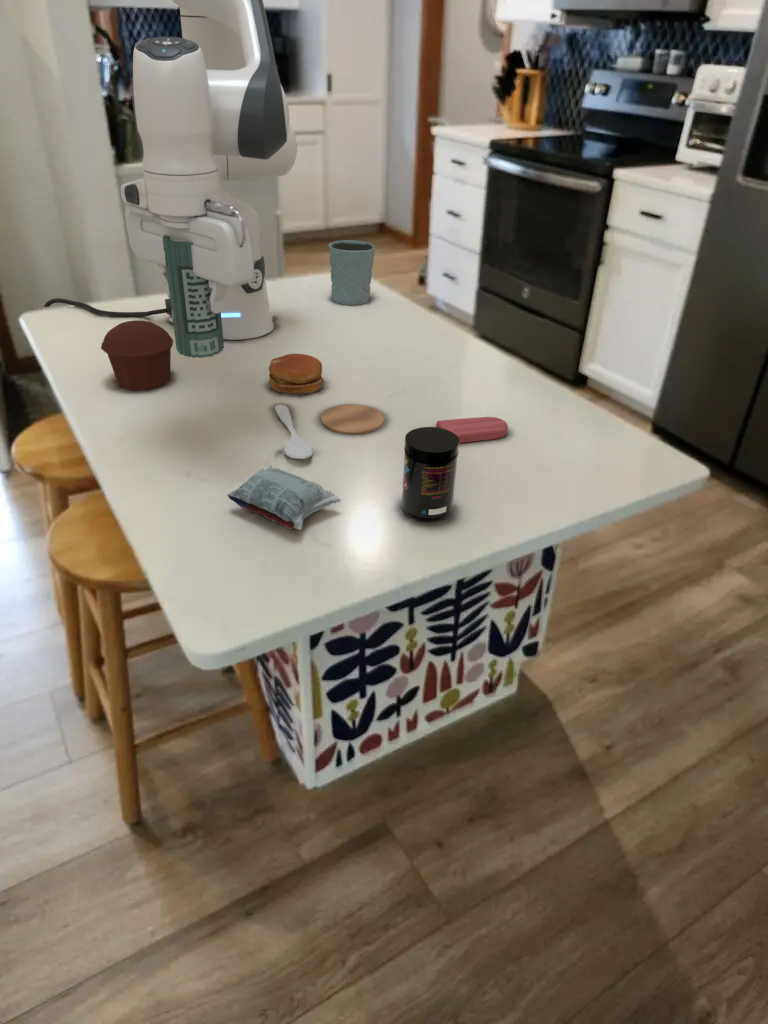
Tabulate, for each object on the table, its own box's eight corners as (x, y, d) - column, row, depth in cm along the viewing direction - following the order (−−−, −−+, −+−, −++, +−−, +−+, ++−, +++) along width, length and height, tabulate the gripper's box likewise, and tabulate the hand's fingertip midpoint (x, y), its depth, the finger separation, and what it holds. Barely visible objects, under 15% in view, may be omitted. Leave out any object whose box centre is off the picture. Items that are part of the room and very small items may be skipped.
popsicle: (410, 422, 115) (500, 414, 118) (409, 431, 116) (498, 423, 119) (420, 438, 111) (513, 429, 114) (420, 447, 111) (512, 438, 115)
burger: (329, 393, 127) (329, 367, 124) (276, 399, 124) (274, 373, 121) (315, 371, 134) (314, 346, 132) (264, 376, 132) (262, 351, 129)
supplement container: (435, 491, 101) (441, 422, 95) (462, 516, 96) (470, 445, 90) (391, 503, 98) (395, 432, 93) (417, 529, 93) (422, 456, 88)
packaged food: (272, 482, 102) (270, 451, 99) (341, 512, 96) (341, 479, 93) (227, 511, 96) (223, 478, 93) (297, 544, 90) (295, 510, 87)
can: (215, 338, 106) (205, 229, 98) (228, 353, 102) (218, 240, 93) (172, 344, 104) (158, 233, 95) (184, 360, 99) (170, 244, 91)
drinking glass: (320, 298, 169) (319, 244, 163) (349, 289, 176) (350, 237, 169) (353, 309, 164) (353, 253, 158) (382, 299, 171) (384, 245, 164)
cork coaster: (308, 421, 118) (308, 418, 117) (348, 401, 124) (348, 398, 124) (357, 440, 113) (357, 438, 112) (396, 418, 119) (396, 416, 119)
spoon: (288, 468, 105) (288, 458, 104) (267, 406, 121) (266, 397, 121) (317, 465, 106) (317, 455, 105) (292, 404, 122) (292, 395, 122)
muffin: (170, 363, 135) (163, 309, 130) (185, 387, 127) (178, 330, 121) (102, 373, 130) (91, 317, 125) (113, 398, 122) (102, 339, 117)
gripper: (262, 204, 88) (268, 317, 96) (151, 179, 98) (165, 283, 106) (222, 212, 84) (232, 330, 92) (111, 185, 94) (128, 293, 102)
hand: (195, 304), depth 99 cm, fingers closed on can, 6 cm apart
